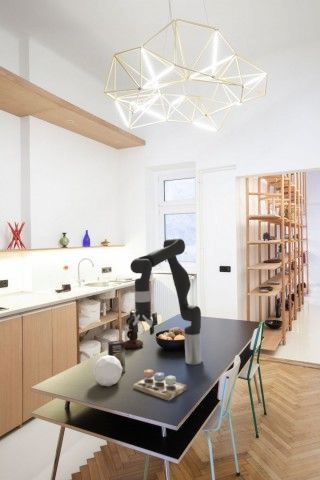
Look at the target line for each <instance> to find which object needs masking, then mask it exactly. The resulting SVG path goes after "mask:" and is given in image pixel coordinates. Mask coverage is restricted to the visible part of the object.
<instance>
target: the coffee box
mask: <svg viewBox="0 0 320 480" xmlns="http://www.w3.org/2000/svg"><path fill="white" fill-rule="evenodd" d="M107 355H109V356H115V357H116V358H117V359H118V360H119V361H120V363H121V366H122V373H124V372H126V348H125V343H124V339H121V340H112V341H107Z"/></svg>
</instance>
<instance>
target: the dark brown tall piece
mask: <svg viewBox="0 0 320 480" xmlns="http://www.w3.org/2000/svg"><path fill="white" fill-rule="evenodd" d="M125 322H126V323H125V324H126V325H128V327H127V328H128V331H127V332H126V337H127V338H128V340H127V339H126V340H125V341H124V340H123V341H124V343H125V349H127V351H128V350H130V349H136V348H141V349H142V347H143V345H144V342H143V341H142V340H140V339H138V338H139V337H138V336H139V335H138V333H135V332H134V325H133V324H130V316H128V318H127V319H126V321H125Z"/></svg>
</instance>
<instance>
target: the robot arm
mask: <svg viewBox="0 0 320 480" xmlns="http://www.w3.org/2000/svg"><path fill="white" fill-rule="evenodd" d="M162 246H163V247H162V248H159V249H156V250H153V251H152V252H149V253H147V254H145V255H142V256H139V257H137V258H134V259H133V260H132V261H131V263H130V267H129V268H130V270H131V272H132V273H134V274H141V275H140V278H136V279H135V280H134V309H135V310H132V311H130V312H129V317H130V324H133V325H134V332H135V333H137V334H138V333H139V323H140V322H145V323H146V324H148V325H149V336H150V335H151V336H152V335H154V334H155V327H156V326H157V325H159V323H158V314H157V312H152V311H151V309H152V307H151V293H150V292H151V291H150V281H151V275H152V269H153V268H154V267H157V266H158V265H159V264H161V263H163V262H164V261H166V260H167V263H168V266H169V269H170V273H171V275H172V276H171V277H172V280H173V284H174V288H175V291H176V296H177V300H178V306H179V312H180V318H181V319H183V321H186V322H190V325H189V326H186V327H184V332H183V333H184V351H185V352H184V353H185V354H184V356H185V364H187V365H193V366H195V365H196V366H197V365H200V364H201V363H202V361H203V355H202V354H203V352H202V350H203V348H202V343H201V342H202V341H201V328H202V312H201V308H200V307H199V306H198V305H190V304H189V302H188V295H189V291H190V289H191V281H190V277H189V273H188V272H187V270H186V268H184V267H183V266H182V264H181V263H180V262H179V260H178V258H177V256H179V255H181V254H183V253H185V249H186V243H185V241H184V240H183V238H166V239H165V240H164V241H163V245H162ZM135 317H136V318H135Z"/></svg>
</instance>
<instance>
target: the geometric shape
mask: <svg viewBox="0 0 320 480" xmlns="http://www.w3.org/2000/svg"><path fill="white" fill-rule="evenodd" d="M122 373H123V372H122V366H121V363H120V361H119V360H118V359H117V358H116V357H115V356H109V355H108V354H106V355H103V356H101V357H99V358H98V359H97V361H96V362H95V364H94V367H93V371H92V374H93V377H94V378H95V381H96V382H97V383H98V384H99V386H103V387H104V386H105V387H111V386H113V385H115V384H117V383H118V381H119V380H120V379H121V378H122Z"/></svg>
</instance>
